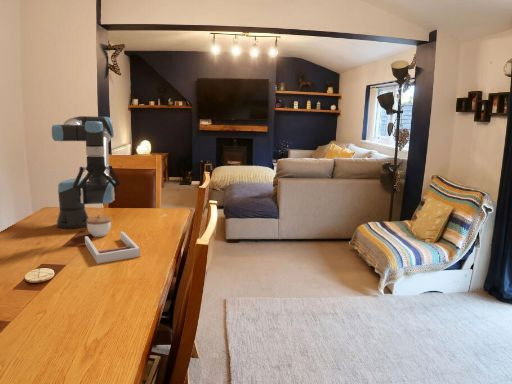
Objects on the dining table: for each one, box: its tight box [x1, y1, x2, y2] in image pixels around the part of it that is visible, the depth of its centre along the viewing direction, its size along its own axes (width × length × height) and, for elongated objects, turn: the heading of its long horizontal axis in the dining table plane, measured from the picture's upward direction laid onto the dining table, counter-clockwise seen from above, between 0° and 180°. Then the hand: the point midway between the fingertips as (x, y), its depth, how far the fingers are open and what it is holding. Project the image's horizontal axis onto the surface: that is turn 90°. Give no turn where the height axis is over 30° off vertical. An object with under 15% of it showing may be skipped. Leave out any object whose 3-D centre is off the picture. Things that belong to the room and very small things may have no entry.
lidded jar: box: [86, 215, 112, 238], centre depth 184 cm, size 11×11×9 cm
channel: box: [84, 231, 141, 265], centre depth 165 cm, size 26×16×4 cm, turn 33°
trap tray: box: [97, 246, 132, 254], centre depth 159 cm, size 8×13×2 cm, turn 123°
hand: (97, 201), depth 182 cm, fingers open, 13 cm apart
